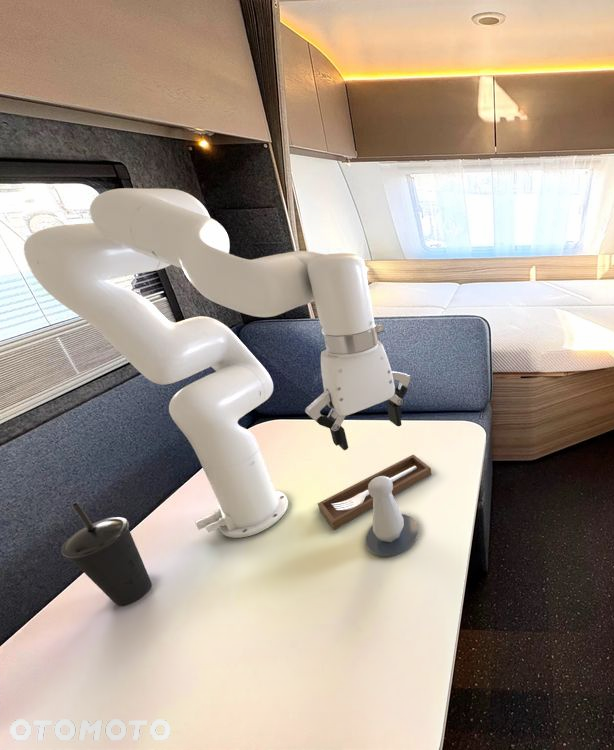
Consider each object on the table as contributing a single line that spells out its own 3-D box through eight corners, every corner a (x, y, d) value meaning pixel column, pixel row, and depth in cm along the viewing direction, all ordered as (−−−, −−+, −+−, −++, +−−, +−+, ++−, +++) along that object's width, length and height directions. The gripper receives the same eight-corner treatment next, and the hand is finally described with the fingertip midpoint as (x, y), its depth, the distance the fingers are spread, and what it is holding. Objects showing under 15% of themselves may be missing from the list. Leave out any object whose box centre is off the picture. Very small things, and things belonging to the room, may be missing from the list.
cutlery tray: (333, 530, 77) (331, 522, 76) (319, 510, 82) (317, 503, 81) (431, 474, 92) (430, 467, 91) (414, 460, 97) (413, 454, 96)
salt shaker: (397, 548, 72) (386, 494, 66) (369, 544, 73) (356, 490, 67) (410, 524, 77) (400, 472, 71) (383, 520, 78) (372, 469, 73)
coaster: (382, 566, 69) (381, 564, 69) (357, 535, 76) (356, 533, 75) (428, 535, 75) (428, 532, 75) (402, 508, 82) (401, 506, 82)
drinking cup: (94, 622, 62) (24, 531, 53) (115, 583, 68) (55, 495, 59) (153, 603, 64) (95, 513, 56) (167, 566, 71) (118, 481, 62)
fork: (420, 471, 92) (419, 465, 91) (338, 517, 79) (336, 510, 79) (413, 465, 94) (412, 459, 93) (332, 509, 82) (330, 502, 81)
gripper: (390, 321, 66) (403, 408, 73) (282, 348, 55) (310, 446, 63) (413, 331, 61) (425, 423, 68) (300, 362, 50) (328, 467, 58)
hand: (370, 434), depth 65 cm, fingers open, 9 cm apart
